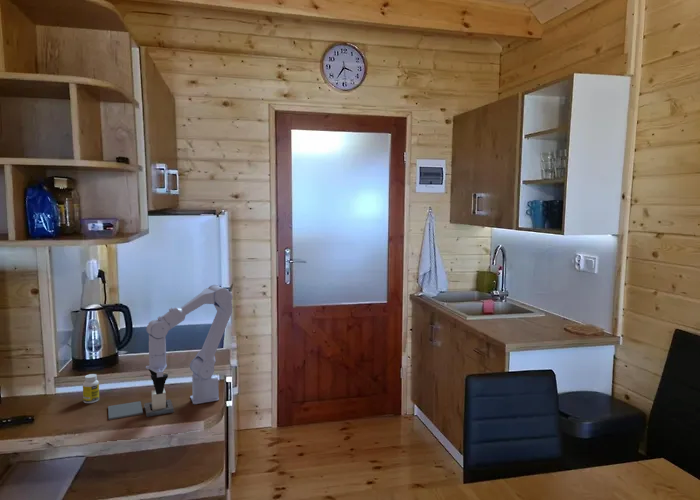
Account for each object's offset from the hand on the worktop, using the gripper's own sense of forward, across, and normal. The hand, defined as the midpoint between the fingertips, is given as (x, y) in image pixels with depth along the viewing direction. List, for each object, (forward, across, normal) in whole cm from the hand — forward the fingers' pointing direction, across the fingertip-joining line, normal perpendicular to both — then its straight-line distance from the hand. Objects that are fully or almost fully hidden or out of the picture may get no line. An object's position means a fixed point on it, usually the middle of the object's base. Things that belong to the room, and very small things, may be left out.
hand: (158, 389), depth 179 cm
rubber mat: (+8, -4, -11) cm, 14 cm away
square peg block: (+8, 0, 0) cm, 8 cm away
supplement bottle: (+8, -19, -22) cm, 30 cm away
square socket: (+8, 0, 0) cm, 8 cm away
